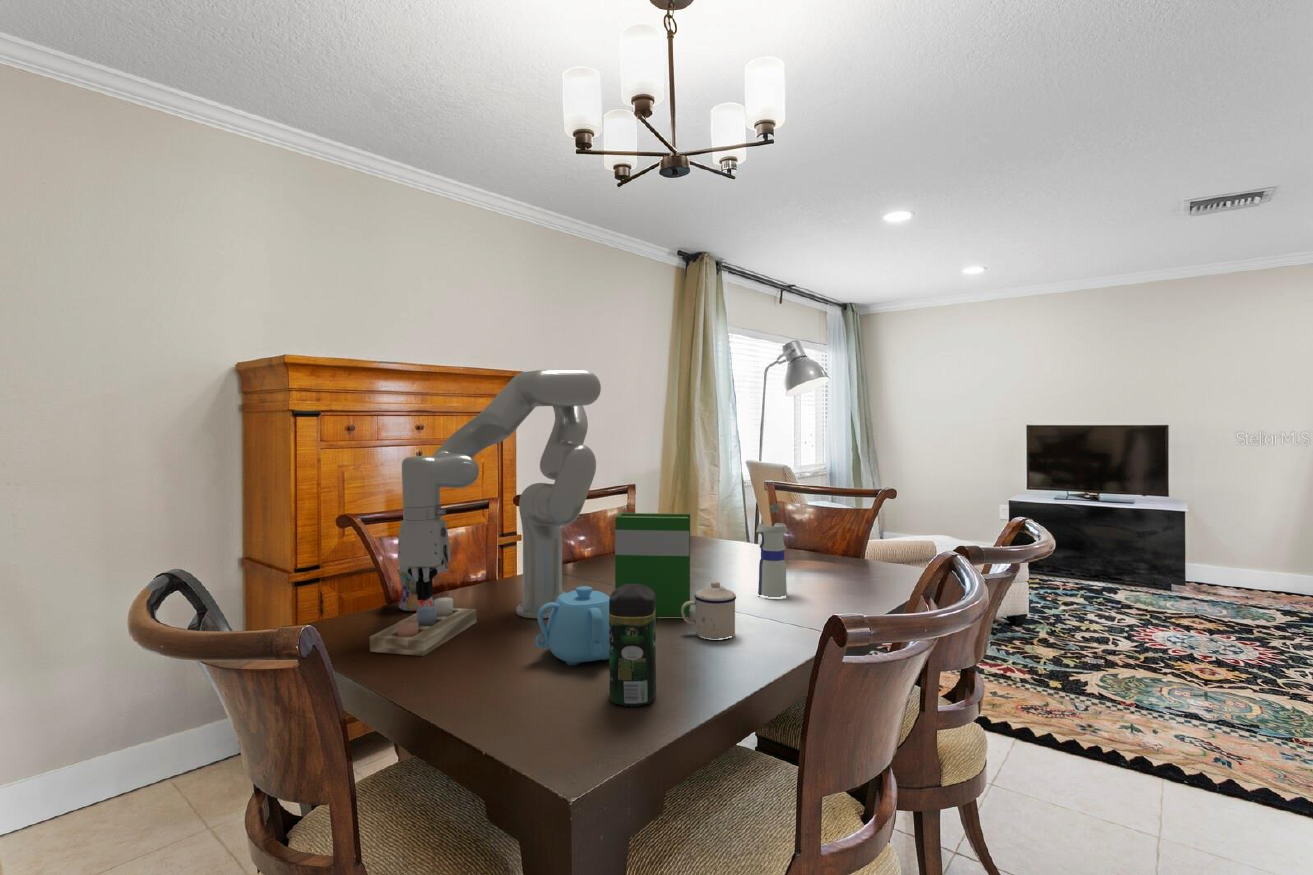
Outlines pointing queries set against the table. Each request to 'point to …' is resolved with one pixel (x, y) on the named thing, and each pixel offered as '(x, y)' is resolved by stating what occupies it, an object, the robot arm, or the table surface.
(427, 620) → the button slate
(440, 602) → the button ivory
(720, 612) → the teacup with lid
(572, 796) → the table surface
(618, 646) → the coffee jar
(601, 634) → the decorative pot
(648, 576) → the hardback book
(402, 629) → the button terracotta
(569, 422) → the robot arm
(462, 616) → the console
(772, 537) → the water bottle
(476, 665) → the table surface
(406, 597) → the multicolour ceramic cup
